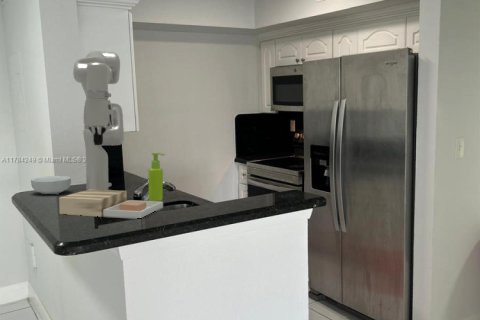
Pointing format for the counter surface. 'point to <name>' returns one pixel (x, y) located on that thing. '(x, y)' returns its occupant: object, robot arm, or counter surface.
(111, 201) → the birch board
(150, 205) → the box
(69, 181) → the cereal bowl
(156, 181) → the soap dispenser
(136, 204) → the terracotta tile
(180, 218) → the counter surface
